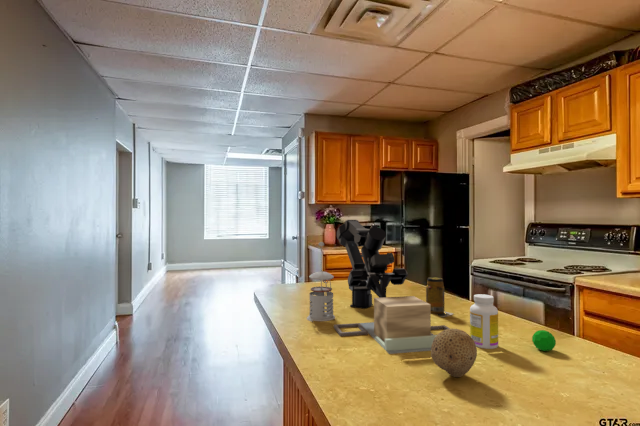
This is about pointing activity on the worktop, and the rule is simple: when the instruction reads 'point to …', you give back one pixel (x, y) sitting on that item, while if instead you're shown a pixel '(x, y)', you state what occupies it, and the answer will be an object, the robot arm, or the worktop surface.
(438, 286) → the condiment
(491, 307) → the supplement bottle
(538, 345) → the polyhedron
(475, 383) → the worktop surface
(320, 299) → the french press
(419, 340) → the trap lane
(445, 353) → the natural sponge
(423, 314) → the oak block
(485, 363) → the worktop surface
